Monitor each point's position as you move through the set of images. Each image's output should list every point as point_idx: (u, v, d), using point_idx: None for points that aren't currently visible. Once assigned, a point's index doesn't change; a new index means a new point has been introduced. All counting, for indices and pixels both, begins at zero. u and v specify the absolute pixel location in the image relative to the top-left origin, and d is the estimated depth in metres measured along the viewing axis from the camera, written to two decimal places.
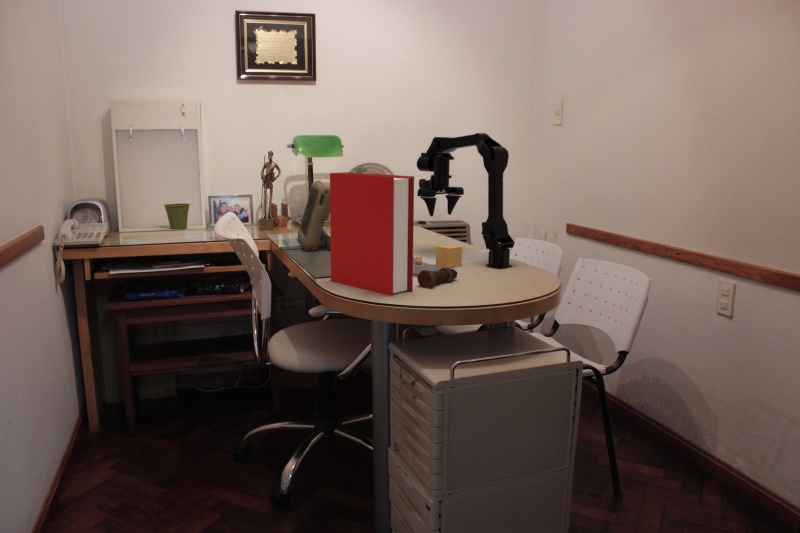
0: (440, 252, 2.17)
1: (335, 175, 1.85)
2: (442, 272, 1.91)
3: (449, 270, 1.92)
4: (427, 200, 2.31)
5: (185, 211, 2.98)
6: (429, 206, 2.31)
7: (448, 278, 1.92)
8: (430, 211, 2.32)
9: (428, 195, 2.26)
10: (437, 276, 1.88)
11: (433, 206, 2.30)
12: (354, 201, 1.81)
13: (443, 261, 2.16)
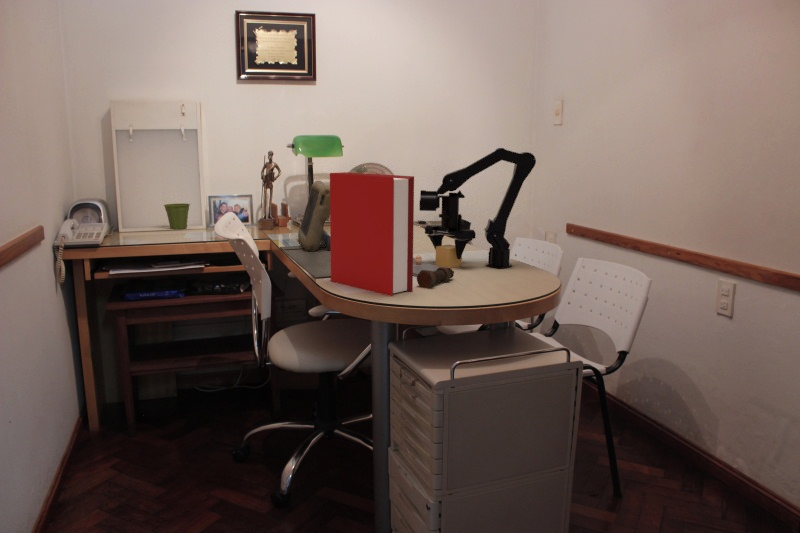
0: (440, 252, 2.17)
1: (335, 175, 1.85)
2: (440, 272, 1.91)
3: (446, 269, 1.92)
4: None
5: (185, 211, 2.98)
6: None
7: (446, 277, 1.92)
8: None
9: None
10: (436, 276, 1.88)
11: (433, 244, 2.20)
12: (354, 201, 1.81)
13: (443, 261, 2.16)
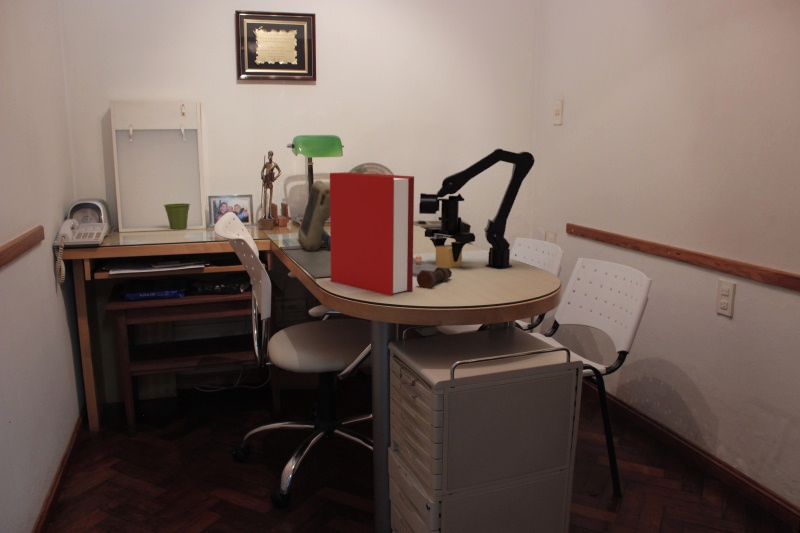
0: (440, 252, 2.17)
1: (335, 175, 1.85)
2: (439, 272, 1.91)
3: (445, 269, 1.93)
4: None
5: (185, 211, 2.98)
6: None
7: (444, 277, 1.92)
8: None
9: None
10: (436, 276, 1.88)
11: None
12: (354, 201, 1.81)
13: (443, 261, 2.16)
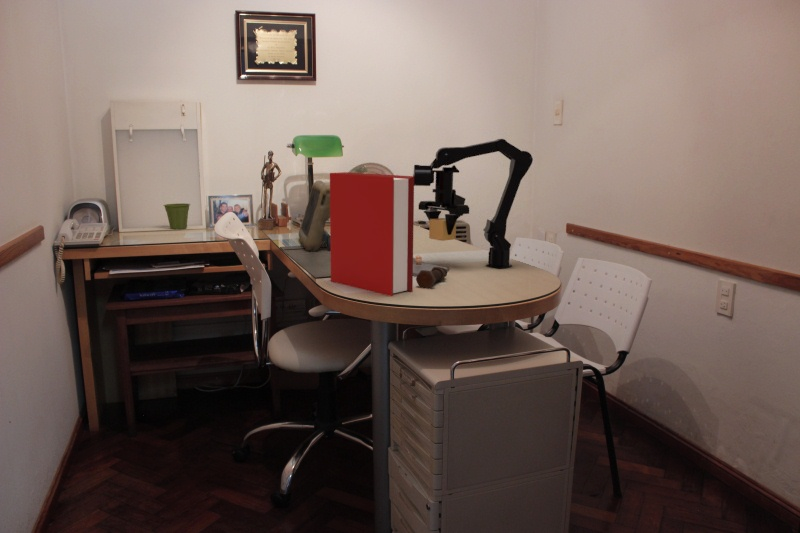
0: (434, 225, 2.13)
1: (335, 175, 1.85)
2: (436, 271, 1.91)
3: (442, 269, 1.93)
4: None
5: (185, 211, 2.98)
6: None
7: (441, 277, 1.93)
8: None
9: None
10: (434, 276, 1.88)
11: None
12: (354, 201, 1.81)
13: (436, 234, 2.13)
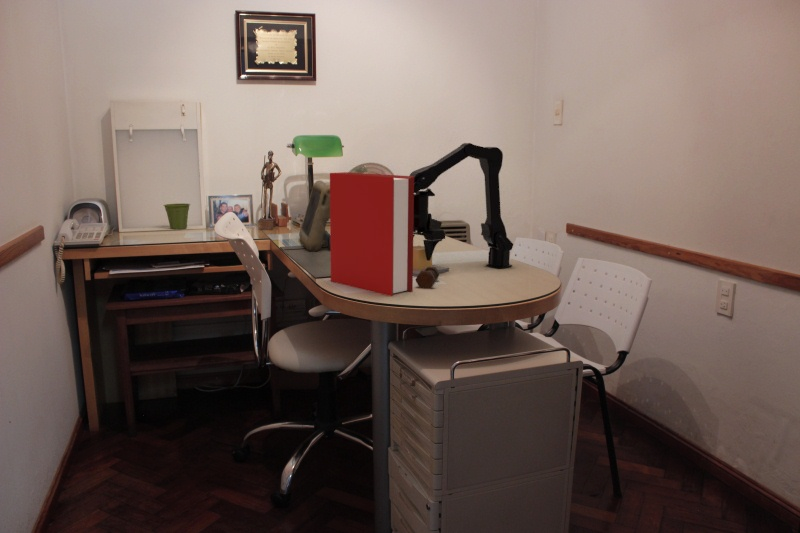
0: None
1: (335, 175, 1.85)
2: (432, 271, 1.91)
3: (436, 269, 1.94)
4: None
5: (185, 211, 2.98)
6: None
7: (436, 277, 1.93)
8: None
9: None
10: None
11: None
12: (354, 201, 1.81)
13: None
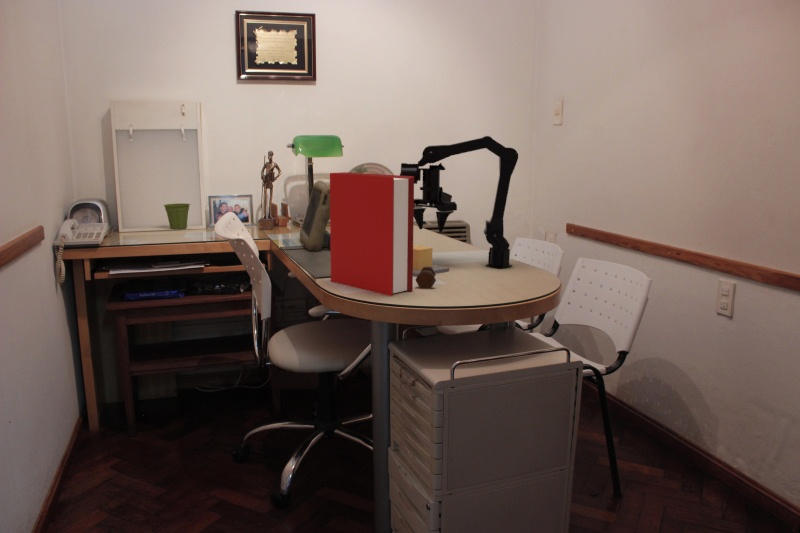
0: None
1: (335, 175, 1.85)
2: None
3: (432, 268, 1.94)
4: None
5: (185, 211, 2.98)
6: None
7: None
8: None
9: None
10: None
11: (415, 218, 2.20)
12: (354, 201, 1.81)
13: None
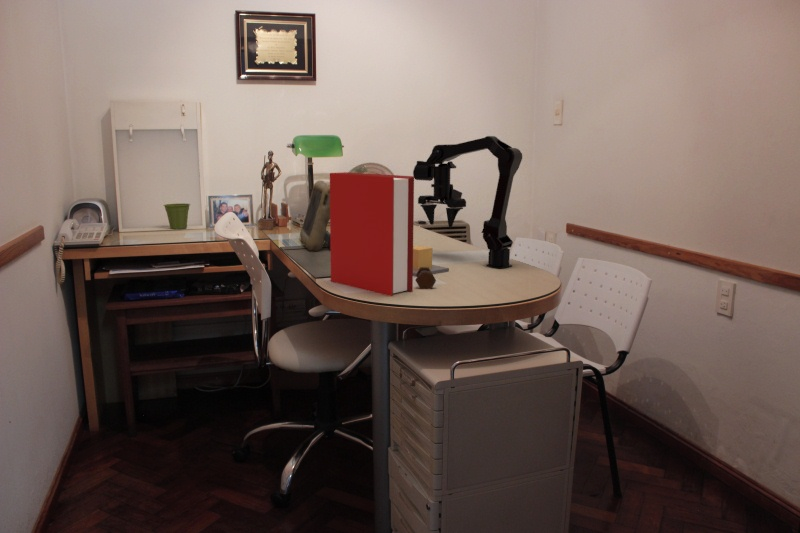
0: None
1: (335, 175, 1.85)
2: None
3: (429, 269, 1.94)
4: None
5: (185, 211, 2.98)
6: None
7: None
8: None
9: (418, 201, 2.31)
10: None
11: (426, 214, 2.30)
12: (354, 201, 1.81)
13: None
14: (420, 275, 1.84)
